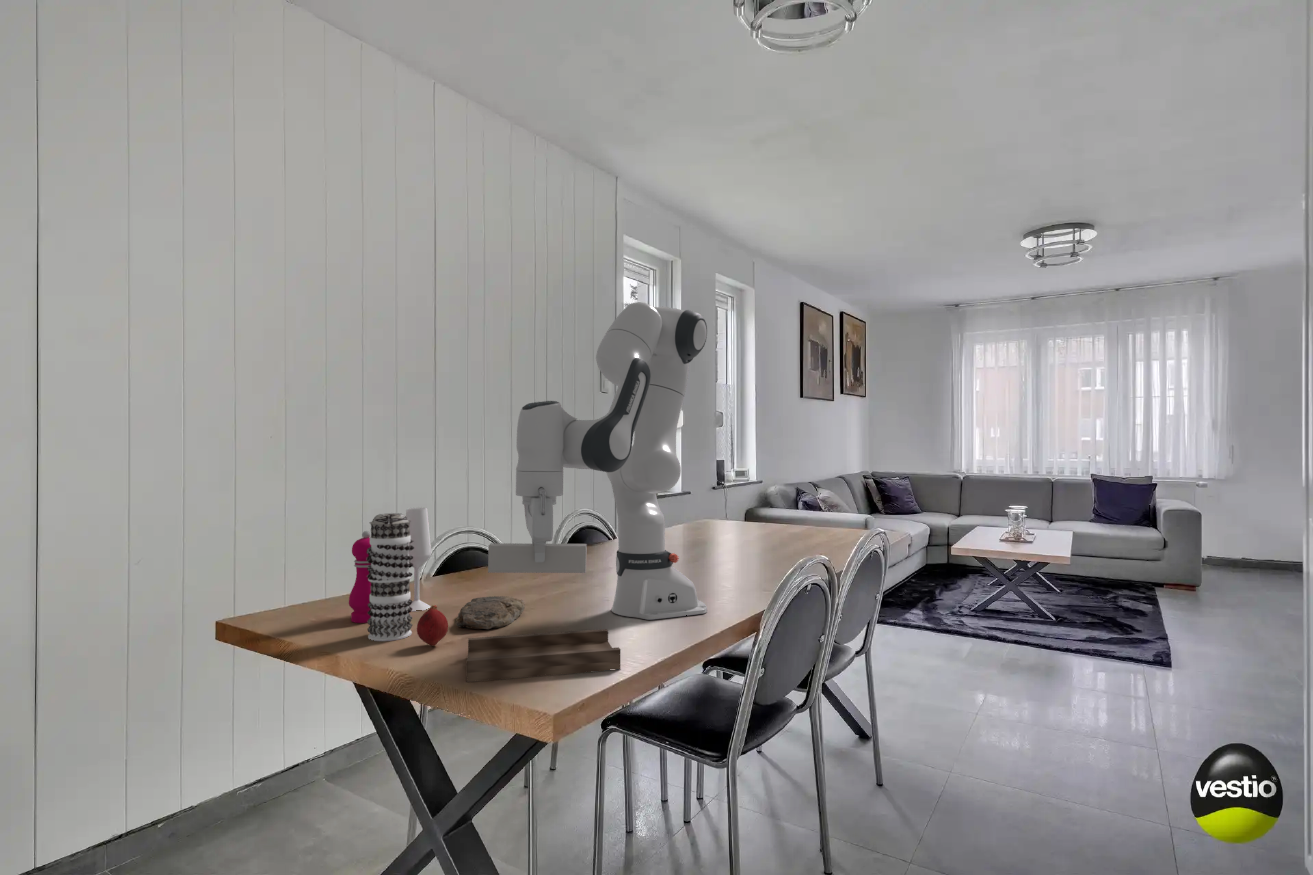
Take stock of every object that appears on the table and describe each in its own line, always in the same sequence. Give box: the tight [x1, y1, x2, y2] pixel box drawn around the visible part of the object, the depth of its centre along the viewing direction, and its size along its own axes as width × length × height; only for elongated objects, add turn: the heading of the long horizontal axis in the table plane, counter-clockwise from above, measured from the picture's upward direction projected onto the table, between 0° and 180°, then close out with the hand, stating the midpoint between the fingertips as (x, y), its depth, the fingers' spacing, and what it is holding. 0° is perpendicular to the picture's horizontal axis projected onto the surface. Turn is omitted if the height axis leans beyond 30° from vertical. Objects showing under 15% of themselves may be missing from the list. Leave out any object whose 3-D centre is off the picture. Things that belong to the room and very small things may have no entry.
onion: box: [416, 604, 449, 647], centre depth 136 cm, size 6×6×8 cm
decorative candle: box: [366, 512, 414, 642], centre depth 144 cm, size 9×9×25 cm
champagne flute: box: [405, 506, 432, 612], centre depth 168 cm, size 7×7×24 cm
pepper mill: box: [348, 530, 371, 624], centre depth 157 cm, size 7×7×20 cm
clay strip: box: [487, 542, 588, 574], centre depth 131 cm, size 18×3×5 cm, turn 94°
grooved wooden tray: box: [466, 628, 621, 683], centre depth 125 cm, size 26×14×4 cm, turn 104°
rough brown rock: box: [455, 595, 526, 630], centre depth 156 cm, size 14×5×20 cm
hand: (538, 559), depth 131 cm, fingers closed on clay strip, 3 cm apart
